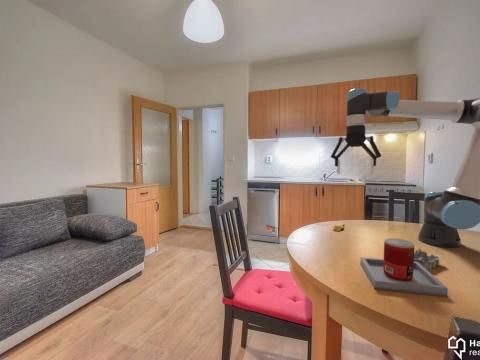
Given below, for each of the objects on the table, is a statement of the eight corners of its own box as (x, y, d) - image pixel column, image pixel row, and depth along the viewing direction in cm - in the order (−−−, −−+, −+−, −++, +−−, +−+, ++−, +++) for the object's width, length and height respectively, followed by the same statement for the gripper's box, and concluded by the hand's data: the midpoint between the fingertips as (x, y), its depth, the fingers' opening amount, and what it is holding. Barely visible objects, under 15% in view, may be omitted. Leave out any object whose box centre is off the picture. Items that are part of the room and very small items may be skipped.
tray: (417, 268, 84) (417, 261, 84) (447, 297, 66) (447, 288, 66) (360, 263, 88) (360, 257, 88) (374, 289, 71) (374, 280, 71)
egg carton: (419, 258, 93) (419, 248, 93) (443, 265, 87) (443, 254, 87) (404, 264, 88) (404, 253, 88) (428, 272, 82) (429, 260, 81)
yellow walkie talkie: (331, 227, 131) (340, 222, 143) (331, 231, 131) (340, 225, 143) (340, 229, 128) (348, 223, 140) (340, 232, 128) (348, 226, 140)
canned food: (413, 283, 72) (415, 247, 71) (382, 277, 76) (383, 243, 75) (412, 273, 78) (413, 240, 78) (383, 268, 83) (384, 236, 82)
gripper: (384, 125, 108) (383, 173, 109) (325, 128, 114) (324, 173, 115) (390, 122, 100) (388, 174, 102) (326, 125, 106) (326, 174, 108)
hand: (354, 173), depth 109 cm, fingers open, 13 cm apart
